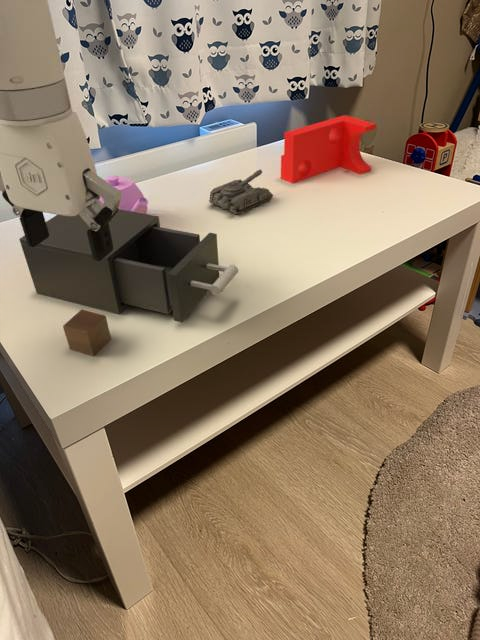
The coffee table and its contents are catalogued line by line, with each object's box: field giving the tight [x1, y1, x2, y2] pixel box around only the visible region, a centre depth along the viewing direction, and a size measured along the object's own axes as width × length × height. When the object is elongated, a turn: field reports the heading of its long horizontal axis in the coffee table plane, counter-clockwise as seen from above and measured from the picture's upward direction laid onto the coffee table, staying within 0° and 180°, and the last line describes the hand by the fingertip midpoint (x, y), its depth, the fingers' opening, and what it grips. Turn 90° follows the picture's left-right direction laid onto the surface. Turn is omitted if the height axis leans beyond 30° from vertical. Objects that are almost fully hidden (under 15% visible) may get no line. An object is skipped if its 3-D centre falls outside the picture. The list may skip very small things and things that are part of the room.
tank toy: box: [208, 169, 274, 215], centre depth 105 cm, size 12×10×5 cm
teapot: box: [99, 175, 149, 214], centre depth 97 cm, size 10×15×9 cm
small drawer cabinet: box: [19, 206, 161, 315], centre depth 82 cm, size 16×14×10 cm
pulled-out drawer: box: [112, 226, 239, 323], centre depth 77 cm, size 19×12×8 cm, turn 66°
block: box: [62, 309, 112, 357], centre depth 70 cm, size 4×4×4 cm
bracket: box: [280, 114, 377, 184], centre depth 114 cm, size 18×10×10 cm
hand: (70, 248), depth 63 cm, fingers open, 9 cm apart
